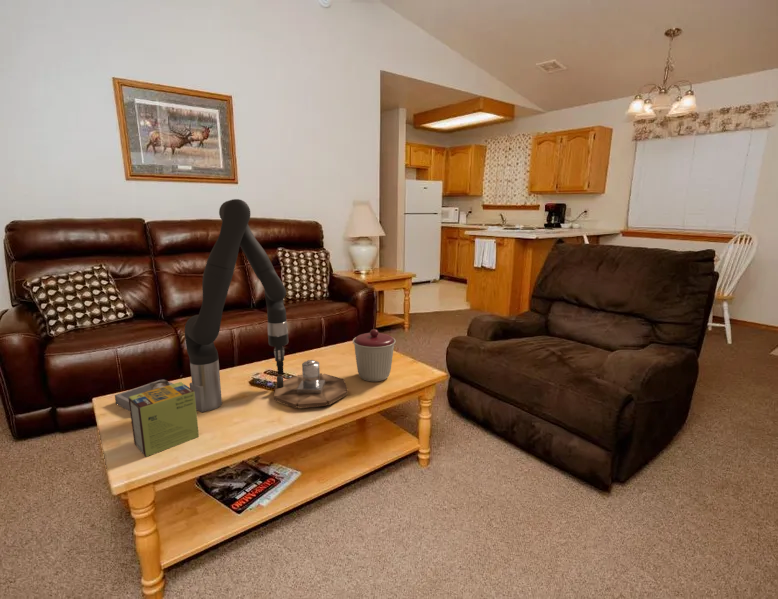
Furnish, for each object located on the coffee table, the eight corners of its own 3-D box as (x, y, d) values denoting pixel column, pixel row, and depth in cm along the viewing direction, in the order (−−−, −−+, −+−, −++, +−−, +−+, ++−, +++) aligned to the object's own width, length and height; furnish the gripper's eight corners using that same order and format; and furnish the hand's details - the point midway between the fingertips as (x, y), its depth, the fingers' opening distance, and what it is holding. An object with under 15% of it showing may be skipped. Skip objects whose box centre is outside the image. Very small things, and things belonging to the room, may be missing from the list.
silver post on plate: (320, 393, 155) (320, 365, 153) (296, 392, 155) (295, 365, 153) (325, 383, 164) (324, 357, 161) (302, 383, 164) (301, 356, 162)
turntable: (313, 414, 142) (312, 399, 141) (259, 395, 156) (258, 381, 155) (360, 386, 164) (360, 374, 163) (309, 372, 178) (309, 360, 177)
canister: (366, 389, 165) (366, 338, 160) (345, 374, 180) (344, 327, 175) (403, 379, 174) (404, 331, 170) (381, 366, 189) (381, 321, 185)
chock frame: (138, 415, 142) (137, 406, 142) (116, 404, 150) (114, 395, 150) (186, 396, 157) (185, 388, 156) (163, 387, 165) (162, 379, 164)
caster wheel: (132, 417, 146) (144, 400, 156) (164, 409, 147) (174, 393, 156) (124, 401, 144) (137, 385, 153) (156, 394, 144) (167, 379, 154)
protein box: (199, 436, 130) (195, 390, 126) (145, 457, 118) (139, 407, 115) (185, 425, 136) (181, 381, 133) (133, 444, 125) (127, 396, 122)
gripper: (268, 328, 166) (271, 368, 170) (267, 338, 153) (270, 381, 157) (287, 326, 168) (289, 367, 172) (288, 336, 155) (291, 379, 159)
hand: (280, 374), depth 165 cm, fingers closed
